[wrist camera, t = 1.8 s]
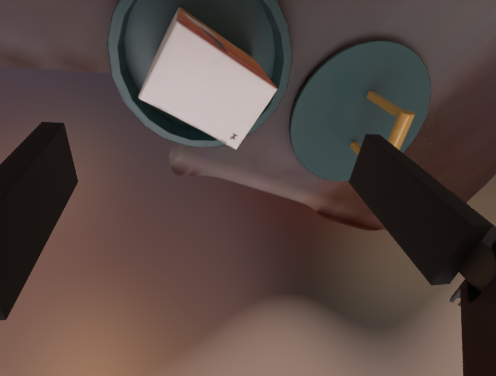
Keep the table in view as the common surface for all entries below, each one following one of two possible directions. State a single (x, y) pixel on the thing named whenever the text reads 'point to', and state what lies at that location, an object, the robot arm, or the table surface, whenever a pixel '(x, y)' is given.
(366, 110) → the tin lid
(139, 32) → the tin
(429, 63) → the table surface
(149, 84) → the small box
